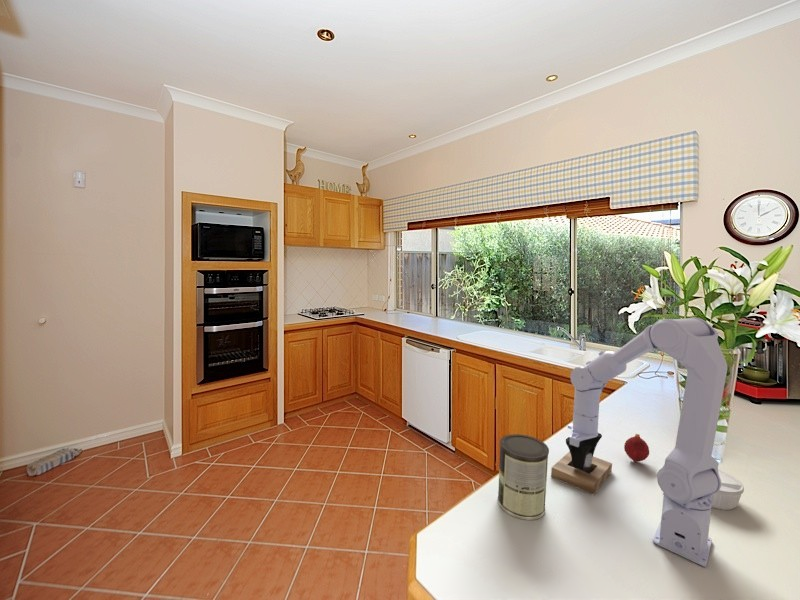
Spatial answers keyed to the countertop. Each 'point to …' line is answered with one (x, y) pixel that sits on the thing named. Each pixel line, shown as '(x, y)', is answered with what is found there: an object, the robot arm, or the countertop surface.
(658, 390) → the countertop surface
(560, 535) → the countertop surface
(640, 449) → the onion
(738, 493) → the ramekin
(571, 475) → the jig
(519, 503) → the coffee can
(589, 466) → the brushed metal cylinder
